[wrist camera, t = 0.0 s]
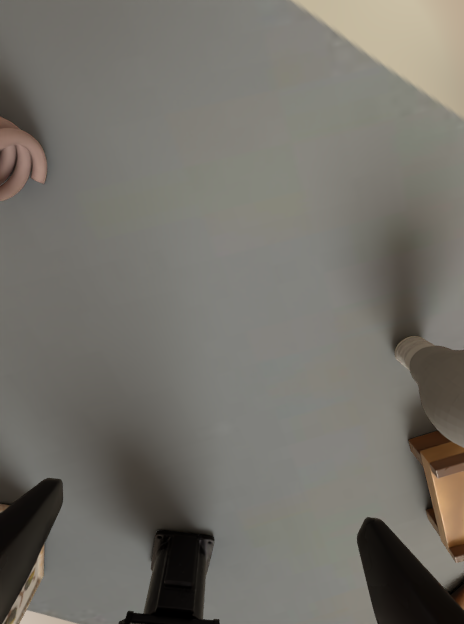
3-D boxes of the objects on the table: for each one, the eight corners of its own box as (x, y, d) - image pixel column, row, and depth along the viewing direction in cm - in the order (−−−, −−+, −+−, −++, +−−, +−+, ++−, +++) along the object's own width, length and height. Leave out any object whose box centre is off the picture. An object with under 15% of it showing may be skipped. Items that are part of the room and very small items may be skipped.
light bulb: (380, 387, 24) (480, 497, 14) (363, 331, 22) (464, 414, 13) (448, 363, 23) (601, 462, 14) (436, 302, 21) (602, 368, 12)
